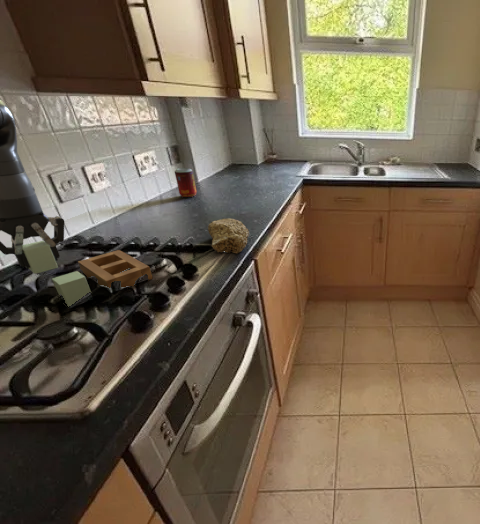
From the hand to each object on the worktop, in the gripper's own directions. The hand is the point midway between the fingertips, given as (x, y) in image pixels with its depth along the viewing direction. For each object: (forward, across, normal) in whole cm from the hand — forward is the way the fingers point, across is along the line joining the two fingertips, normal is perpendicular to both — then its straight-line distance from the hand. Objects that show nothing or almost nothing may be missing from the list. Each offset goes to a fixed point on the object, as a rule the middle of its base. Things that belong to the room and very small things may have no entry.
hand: (41, 263), depth 80 cm
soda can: (+4, -62, -46) cm, 78 cm away
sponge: (+4, -40, +15) cm, 43 cm away
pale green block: (+4, 0, +18) cm, 19 cm away
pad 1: (+1, 0, 0) cm, 1 cm away
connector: (+4, -10, +12) cm, 16 cm away
